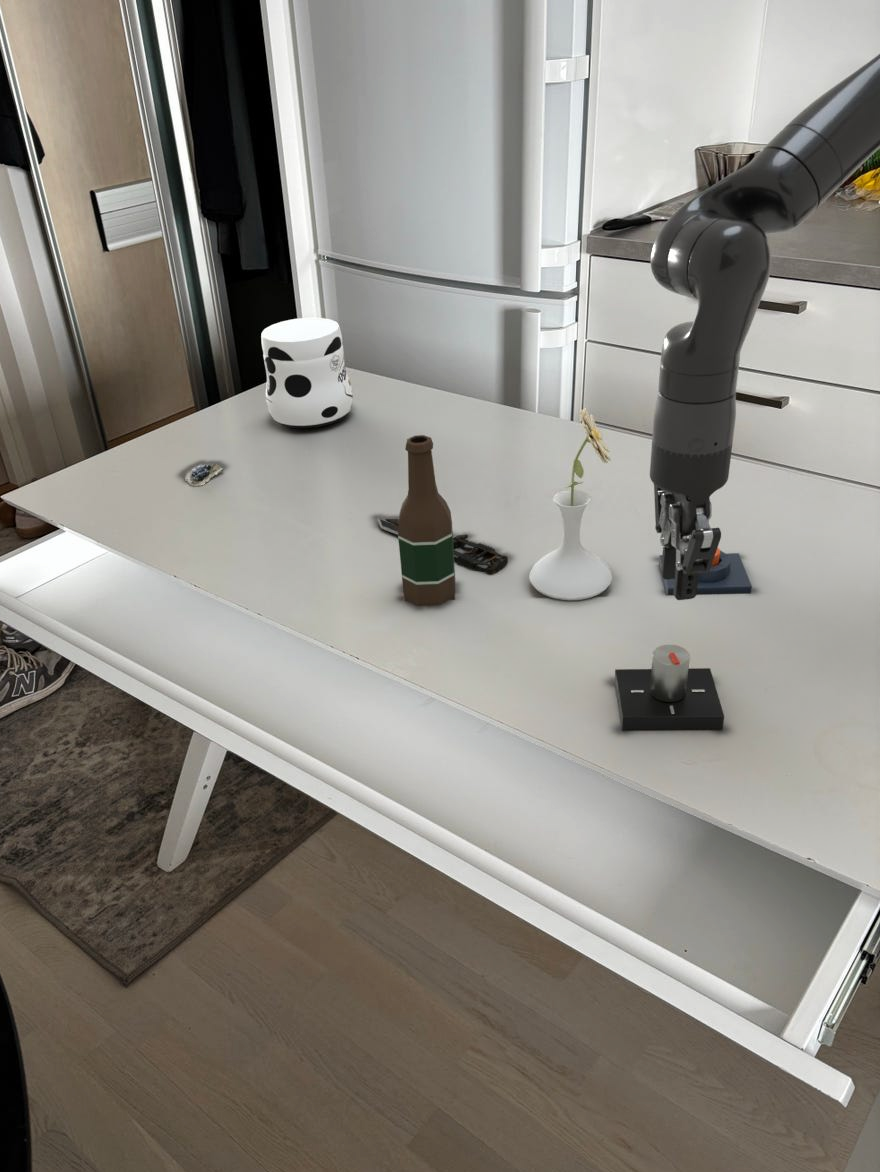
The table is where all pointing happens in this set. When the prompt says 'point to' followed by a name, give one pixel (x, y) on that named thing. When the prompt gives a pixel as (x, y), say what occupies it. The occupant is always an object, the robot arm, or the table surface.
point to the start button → (716, 558)
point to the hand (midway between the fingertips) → (677, 586)
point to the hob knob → (669, 673)
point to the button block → (718, 577)
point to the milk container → (306, 373)
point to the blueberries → (202, 474)
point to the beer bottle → (425, 532)
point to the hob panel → (667, 703)
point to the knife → (460, 542)
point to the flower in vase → (574, 538)
